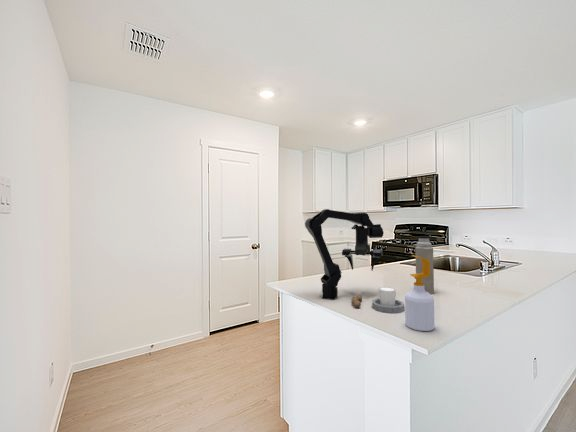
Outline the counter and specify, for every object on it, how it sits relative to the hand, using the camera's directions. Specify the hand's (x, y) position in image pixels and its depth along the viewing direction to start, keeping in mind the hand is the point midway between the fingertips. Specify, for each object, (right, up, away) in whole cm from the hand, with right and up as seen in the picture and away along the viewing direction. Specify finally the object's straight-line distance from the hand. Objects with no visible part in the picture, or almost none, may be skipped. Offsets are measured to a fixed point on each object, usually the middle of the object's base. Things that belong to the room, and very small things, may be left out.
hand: (362, 270), depth 133 cm
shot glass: (+5, -11, -20) cm, 23 cm away
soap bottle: (+9, -12, -39) cm, 42 cm away
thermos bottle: (+32, -12, +3) cm, 34 cm away
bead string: (-7, -12, -15) cm, 20 cm away
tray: (+5, -12, -20) cm, 24 cm away
